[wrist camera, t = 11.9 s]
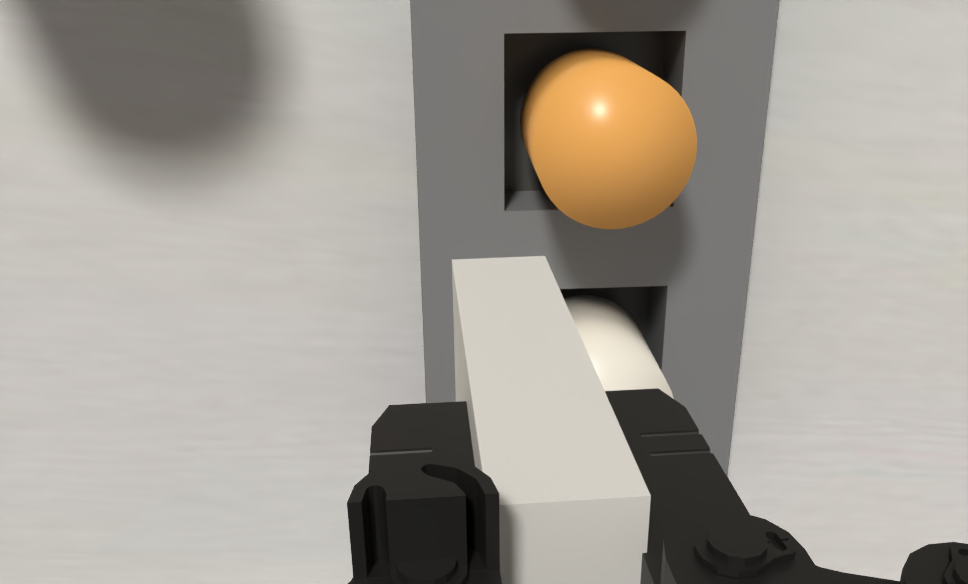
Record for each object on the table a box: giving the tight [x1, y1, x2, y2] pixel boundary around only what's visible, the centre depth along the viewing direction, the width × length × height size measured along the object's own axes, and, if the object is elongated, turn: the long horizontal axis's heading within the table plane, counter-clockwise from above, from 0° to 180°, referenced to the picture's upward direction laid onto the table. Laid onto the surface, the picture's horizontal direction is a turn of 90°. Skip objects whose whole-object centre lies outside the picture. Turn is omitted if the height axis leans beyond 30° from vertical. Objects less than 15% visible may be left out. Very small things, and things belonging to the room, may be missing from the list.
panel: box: [410, 0, 779, 476], centre depth 31 cm, size 12×30×3 cm, turn 1°
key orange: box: [520, 48, 697, 229], centre depth 28 cm, size 5×5×5 cm
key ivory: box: [564, 295, 674, 399], centre depth 32 cm, size 5×5×5 cm
